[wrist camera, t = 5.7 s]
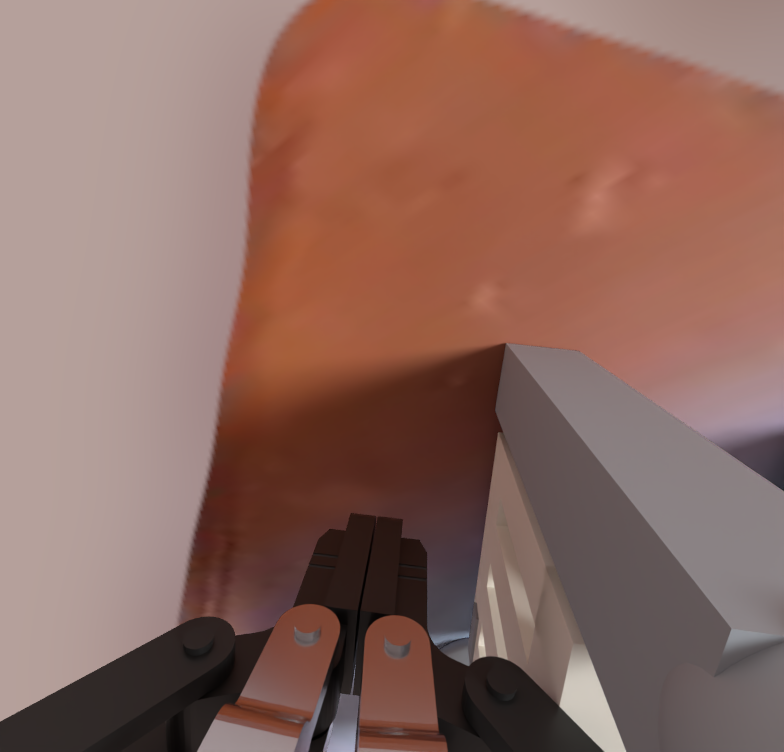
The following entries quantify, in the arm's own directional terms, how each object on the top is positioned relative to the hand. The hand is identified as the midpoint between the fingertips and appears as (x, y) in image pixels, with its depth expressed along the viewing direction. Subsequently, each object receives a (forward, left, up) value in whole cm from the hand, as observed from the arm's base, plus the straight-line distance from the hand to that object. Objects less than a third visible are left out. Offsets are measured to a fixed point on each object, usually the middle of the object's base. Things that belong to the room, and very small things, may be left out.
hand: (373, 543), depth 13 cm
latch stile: (-5, -3, -4) cm, 7 cm away
